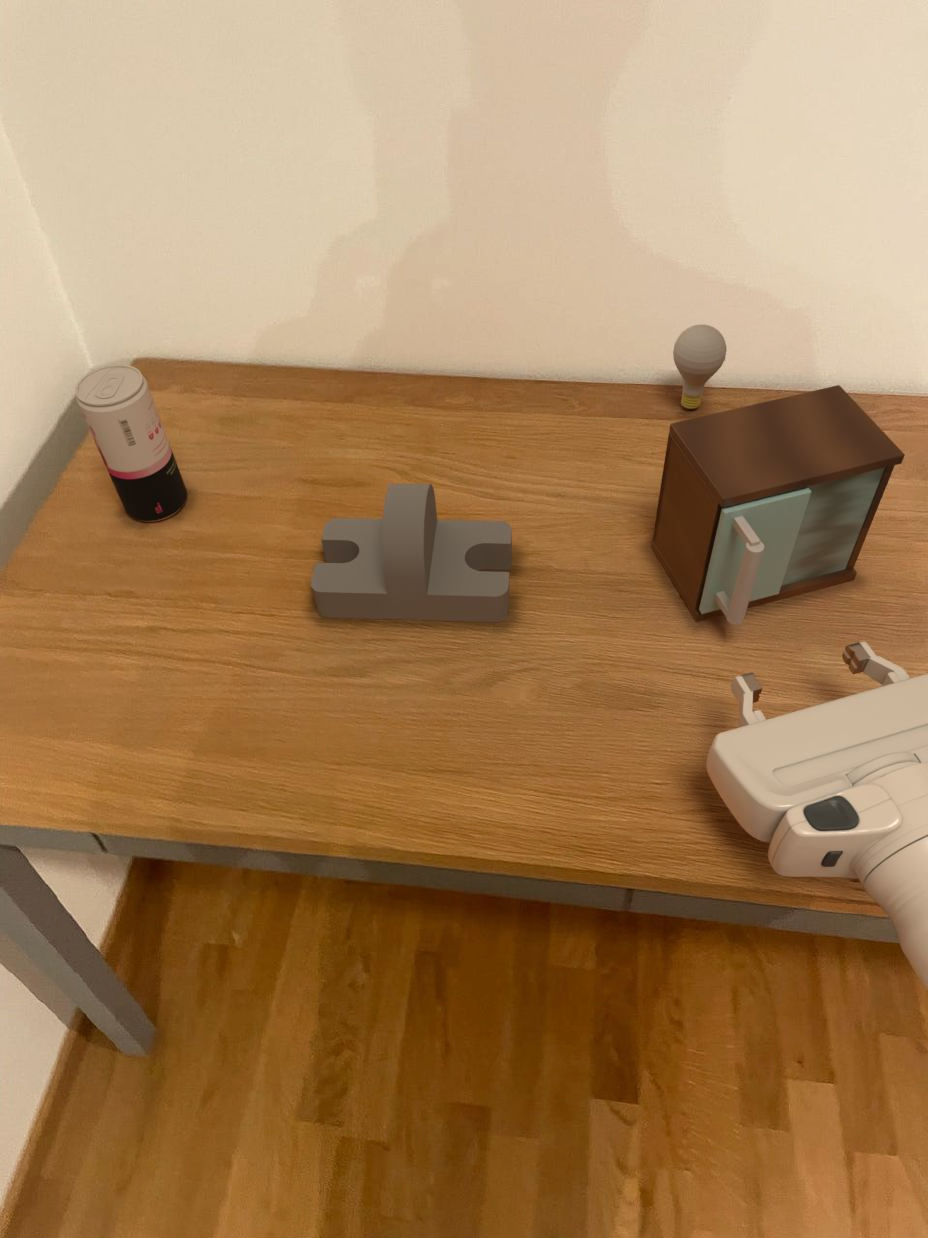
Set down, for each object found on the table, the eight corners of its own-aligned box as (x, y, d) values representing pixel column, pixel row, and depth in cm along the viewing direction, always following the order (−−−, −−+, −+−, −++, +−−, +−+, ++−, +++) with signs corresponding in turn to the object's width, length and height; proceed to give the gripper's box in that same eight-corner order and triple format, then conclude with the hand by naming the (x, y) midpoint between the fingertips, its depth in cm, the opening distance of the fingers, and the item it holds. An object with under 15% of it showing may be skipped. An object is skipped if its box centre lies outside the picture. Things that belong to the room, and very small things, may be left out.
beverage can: (116, 523, 96) (62, 404, 84) (137, 480, 100) (88, 362, 88) (177, 525, 95) (130, 406, 84) (196, 483, 99) (153, 363, 88)
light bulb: (718, 421, 102) (734, 342, 94) (668, 423, 102) (680, 344, 94) (710, 391, 105) (725, 313, 98) (662, 393, 106) (673, 314, 98)
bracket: (508, 622, 85) (506, 539, 76) (315, 617, 86) (293, 534, 78) (512, 547, 91) (511, 462, 83) (332, 543, 92) (313, 460, 84)
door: (775, 589, 84) (808, 486, 75) (799, 623, 81) (836, 522, 72) (698, 609, 83) (721, 508, 74) (720, 645, 80) (747, 544, 71)
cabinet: (799, 509, 92) (839, 384, 81) (854, 580, 86) (905, 454, 75) (651, 547, 90) (670, 423, 79) (695, 621, 84) (723, 498, 72)
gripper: (1055, 753, 61) (931, 603, 70) (774, 840, 58) (680, 672, 67) (1016, 799, 66) (904, 654, 75) (755, 881, 63) (670, 720, 72)
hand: (796, 663), depth 71 cm, fingers open, 8 cm apart
